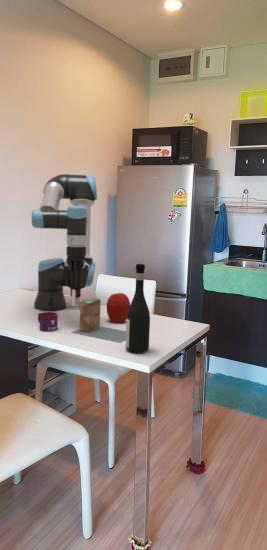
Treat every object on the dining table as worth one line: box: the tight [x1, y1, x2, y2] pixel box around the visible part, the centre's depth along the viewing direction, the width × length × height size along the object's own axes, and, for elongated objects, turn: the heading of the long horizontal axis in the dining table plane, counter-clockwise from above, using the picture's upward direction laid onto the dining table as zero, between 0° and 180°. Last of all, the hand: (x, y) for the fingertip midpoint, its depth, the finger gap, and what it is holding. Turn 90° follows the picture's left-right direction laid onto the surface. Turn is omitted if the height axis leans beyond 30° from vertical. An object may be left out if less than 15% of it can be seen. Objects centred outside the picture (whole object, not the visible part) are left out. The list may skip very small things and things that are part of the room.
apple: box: [105, 292, 131, 324], centre depth 182 cm, size 10×10×14 cm
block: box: [79, 297, 101, 333], centre depth 167 cm, size 4×8×12 cm, turn 151°
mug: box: [37, 311, 59, 333], centre depth 168 cm, size 7×10×7 cm
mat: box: [71, 325, 126, 344], centre depth 165 cm, size 22×14×1 cm, turn 61°
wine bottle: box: [125, 263, 151, 354], centre depth 146 cm, size 8×8×30 cm
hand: (75, 305), depth 170 cm, fingers closed
